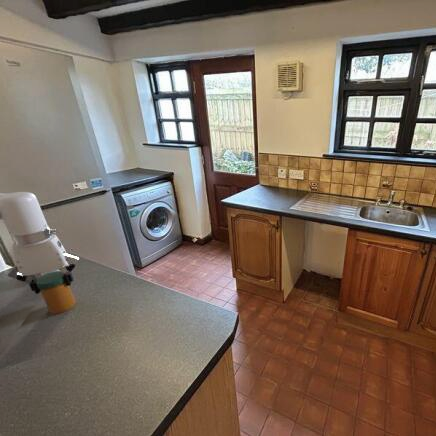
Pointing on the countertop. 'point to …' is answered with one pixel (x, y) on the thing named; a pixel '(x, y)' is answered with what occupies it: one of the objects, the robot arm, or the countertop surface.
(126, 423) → the countertop surface
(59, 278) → the jar lid
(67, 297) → the honey jar
